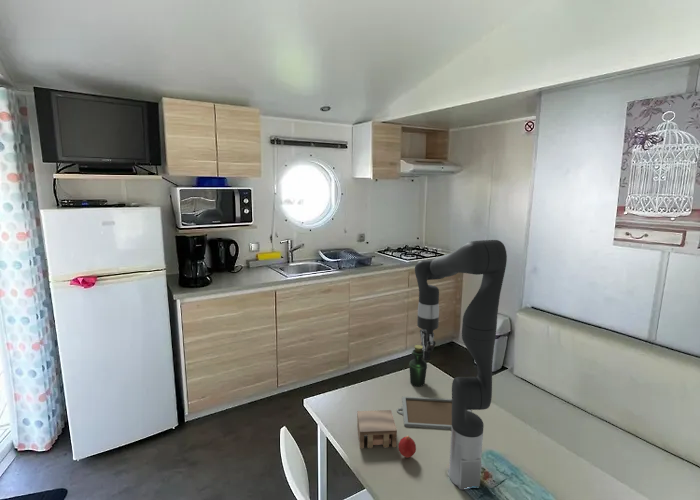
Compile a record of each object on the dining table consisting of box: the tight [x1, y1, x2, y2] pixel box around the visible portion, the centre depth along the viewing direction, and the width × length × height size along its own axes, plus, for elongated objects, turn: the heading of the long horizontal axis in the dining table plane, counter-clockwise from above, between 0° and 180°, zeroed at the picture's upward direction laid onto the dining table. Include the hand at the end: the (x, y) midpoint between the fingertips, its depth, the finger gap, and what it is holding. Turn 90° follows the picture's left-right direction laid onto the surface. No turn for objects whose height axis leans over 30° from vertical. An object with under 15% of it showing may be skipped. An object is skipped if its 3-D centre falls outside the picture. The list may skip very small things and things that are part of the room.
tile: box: [373, 434, 392, 446], centre depth 136 cm, size 13×6×2 cm, turn 4°
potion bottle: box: [408, 344, 428, 388], centre depth 170 cm, size 8×8×18 cm
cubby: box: [356, 409, 398, 449], centre depth 134 cm, size 12×13×6 cm
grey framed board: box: [396, 395, 473, 430], centre depth 148 cm, size 19×2×30 cm
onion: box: [397, 435, 417, 459], centre depth 123 cm, size 6×6×8 cm
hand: (426, 359), depth 136 cm, fingers closed
